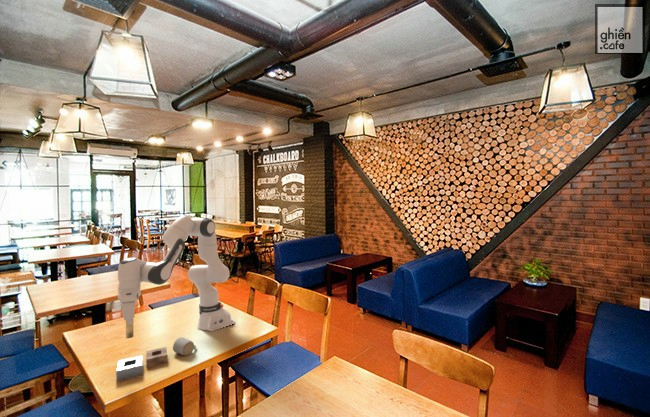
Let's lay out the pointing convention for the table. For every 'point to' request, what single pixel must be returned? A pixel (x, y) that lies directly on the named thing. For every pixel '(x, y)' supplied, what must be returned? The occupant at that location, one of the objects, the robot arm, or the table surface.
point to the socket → (129, 368)
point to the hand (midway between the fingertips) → (129, 322)
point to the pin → (130, 329)
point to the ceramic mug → (183, 346)
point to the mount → (156, 357)
